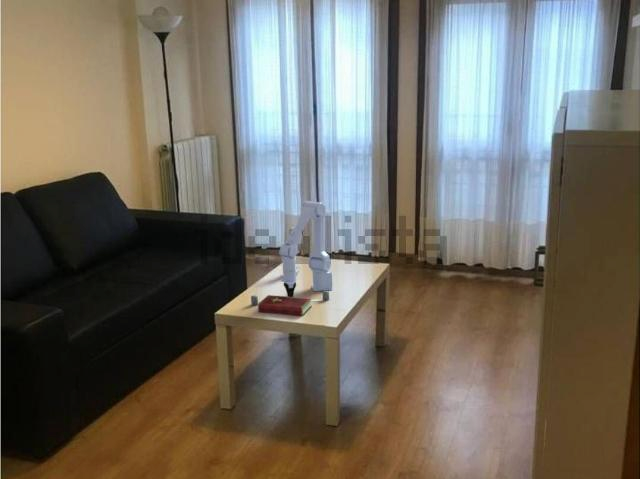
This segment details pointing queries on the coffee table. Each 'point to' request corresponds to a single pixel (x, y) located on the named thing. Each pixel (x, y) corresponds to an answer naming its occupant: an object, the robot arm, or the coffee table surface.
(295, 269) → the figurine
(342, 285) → the coffee table surface
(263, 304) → the hardcover book
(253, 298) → the strip
